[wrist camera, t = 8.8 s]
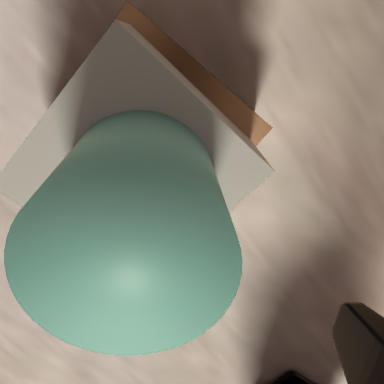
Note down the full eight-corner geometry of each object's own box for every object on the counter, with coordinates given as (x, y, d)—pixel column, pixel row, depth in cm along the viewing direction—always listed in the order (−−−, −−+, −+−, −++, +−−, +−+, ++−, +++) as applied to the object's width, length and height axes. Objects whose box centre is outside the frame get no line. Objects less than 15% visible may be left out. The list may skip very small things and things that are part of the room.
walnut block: (253, 110, 19) (272, 127, 15) (167, 210, 21) (166, 245, 18) (137, 8, 16) (127, 0, 13) (54, 133, 19) (26, 155, 15)
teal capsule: (242, 170, 12) (289, 254, 7) (157, 263, 13) (151, 382, 9) (124, 76, 10) (88, 109, 6) (42, 194, 12) (-38, 294, 7)
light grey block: (250, 139, 15) (274, 170, 12) (152, 236, 17) (147, 289, 14) (130, 24, 13) (115, 19, 10) (33, 150, 15) (-10, 186, 11)
